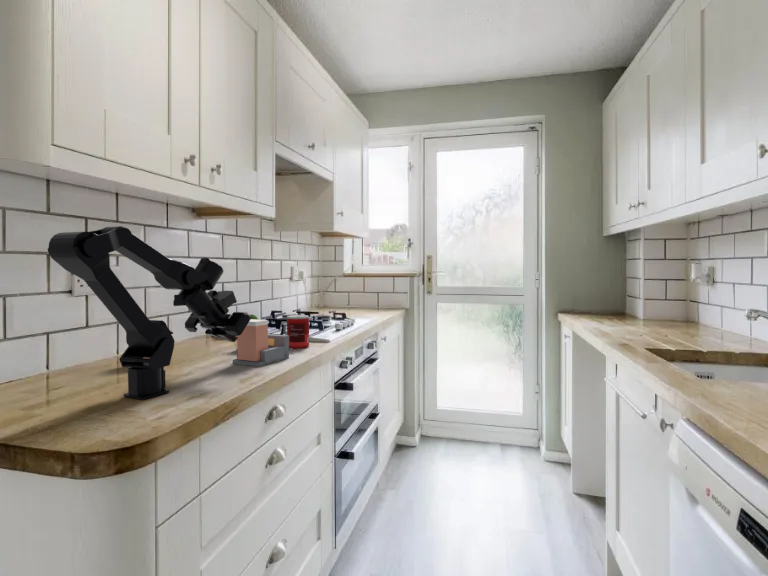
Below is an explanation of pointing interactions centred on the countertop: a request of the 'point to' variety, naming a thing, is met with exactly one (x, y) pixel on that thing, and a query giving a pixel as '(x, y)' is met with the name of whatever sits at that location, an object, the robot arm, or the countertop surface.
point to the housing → (270, 351)
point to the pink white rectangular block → (253, 340)
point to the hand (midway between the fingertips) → (234, 340)
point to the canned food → (298, 331)
